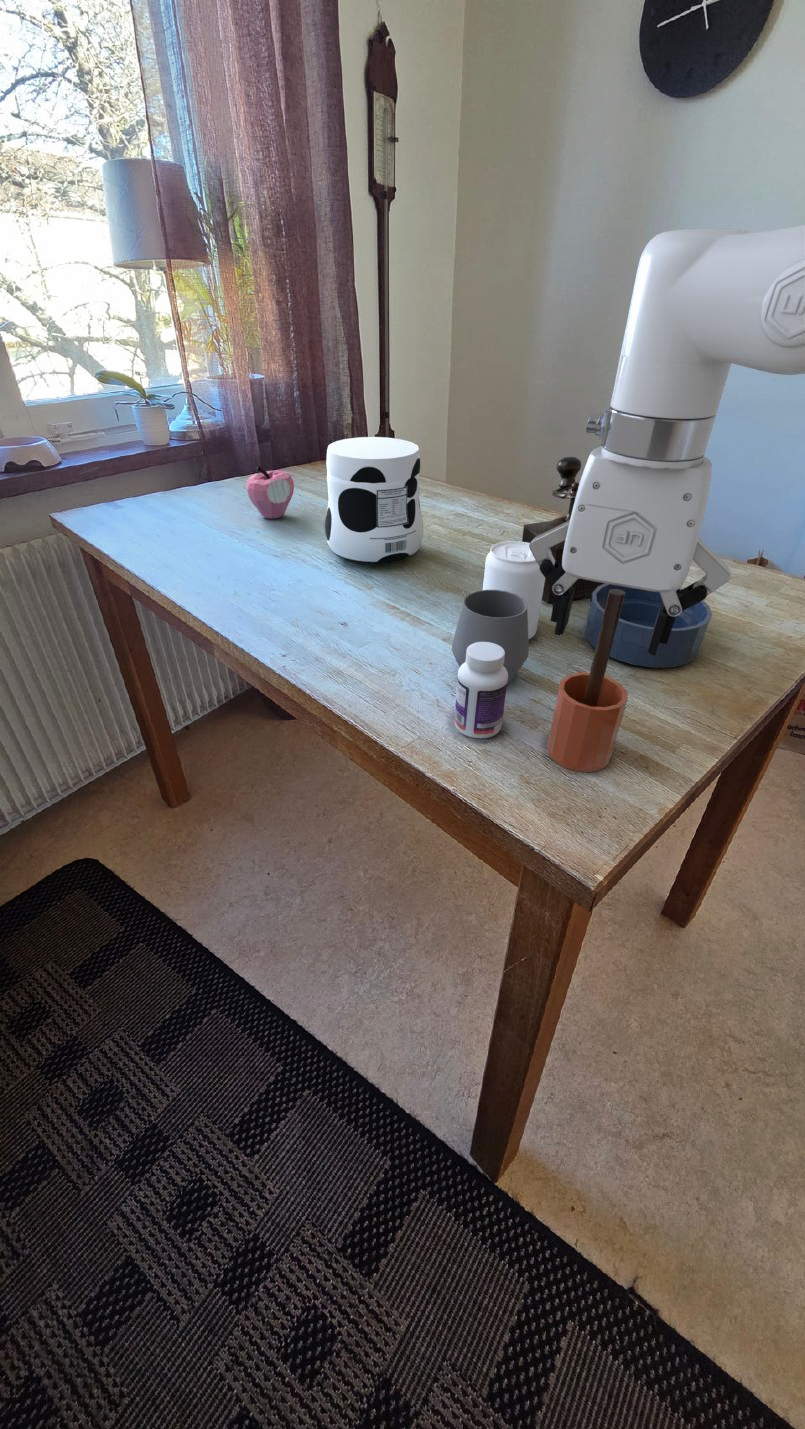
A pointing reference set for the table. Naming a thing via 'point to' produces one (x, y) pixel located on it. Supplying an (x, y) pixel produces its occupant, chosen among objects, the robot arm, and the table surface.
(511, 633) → the cup
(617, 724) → the utensil pot
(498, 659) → the pill bottle
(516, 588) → the beverage can
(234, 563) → the table surface
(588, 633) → the bowl
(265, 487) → the apple
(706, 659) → the table surface
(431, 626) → the table surface
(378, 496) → the milk container
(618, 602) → the stirring stick
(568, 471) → the manual coffee grinder
